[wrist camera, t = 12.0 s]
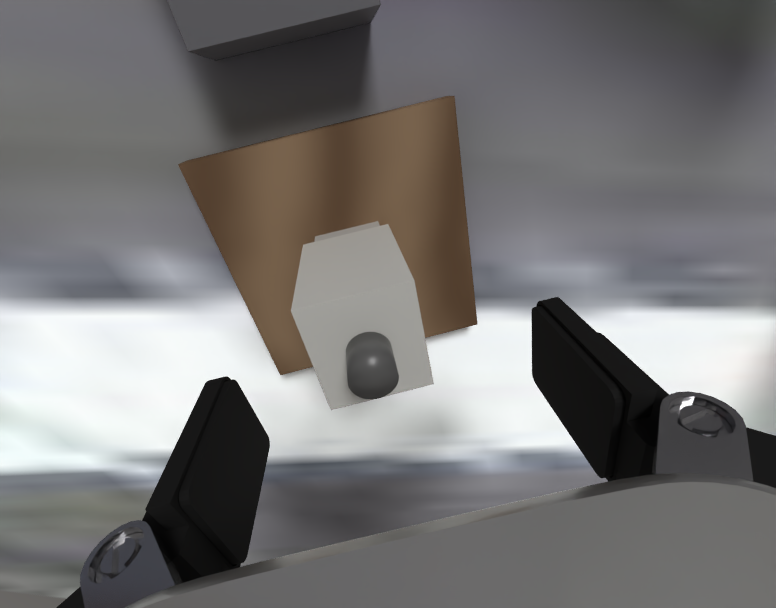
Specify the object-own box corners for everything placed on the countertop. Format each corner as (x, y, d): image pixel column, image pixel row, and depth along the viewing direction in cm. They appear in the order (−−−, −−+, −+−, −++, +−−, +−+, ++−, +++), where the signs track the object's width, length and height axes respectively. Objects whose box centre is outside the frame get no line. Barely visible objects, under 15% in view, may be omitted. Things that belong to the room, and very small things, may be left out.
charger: (381, 209, 19) (425, 303, 10) (397, 284, 21) (444, 413, 12) (306, 227, 19) (285, 338, 10) (330, 301, 21) (330, 442, 12)
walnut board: (446, 96, 18) (454, 95, 17) (471, 314, 24) (477, 324, 23) (186, 160, 17) (178, 164, 16) (282, 363, 24) (280, 375, 23)
